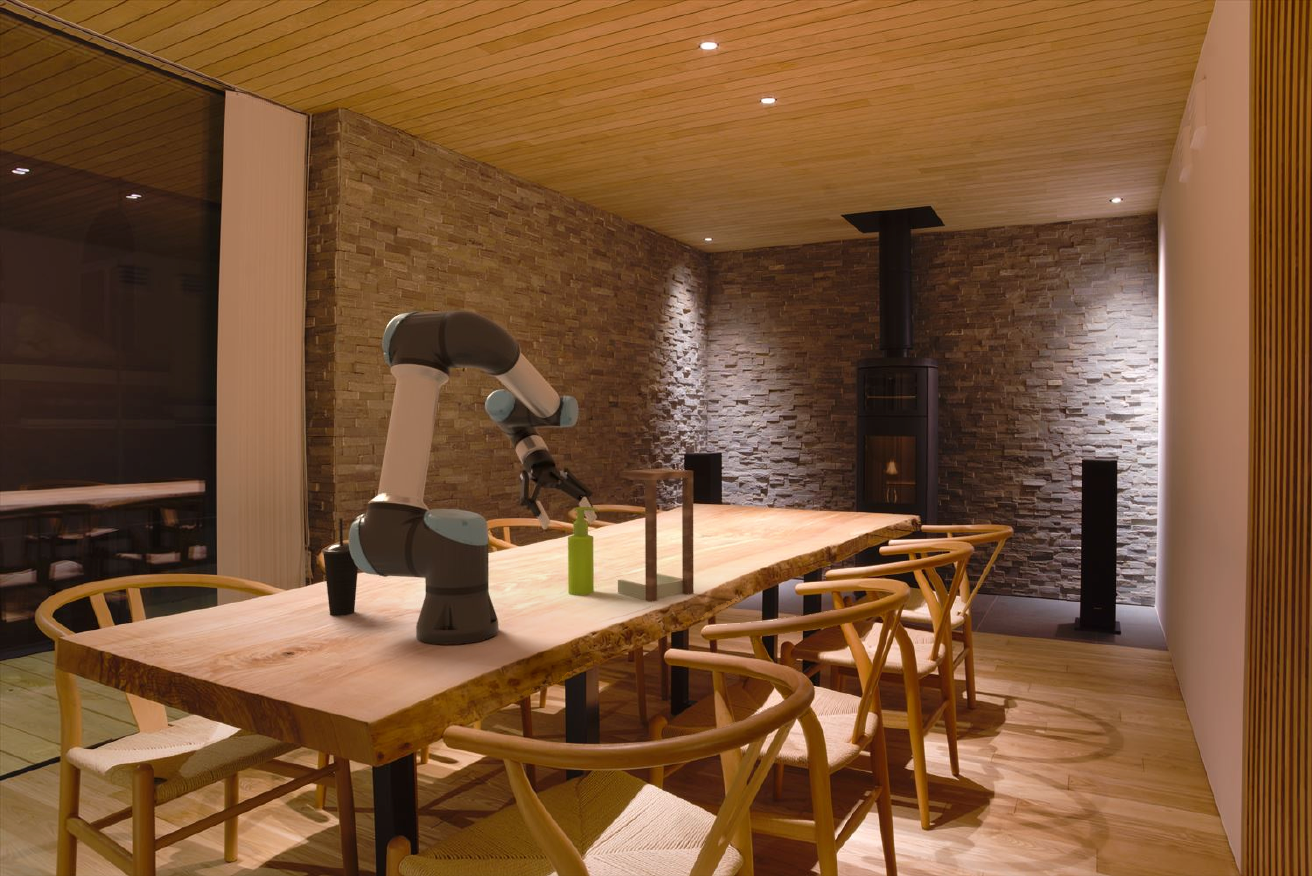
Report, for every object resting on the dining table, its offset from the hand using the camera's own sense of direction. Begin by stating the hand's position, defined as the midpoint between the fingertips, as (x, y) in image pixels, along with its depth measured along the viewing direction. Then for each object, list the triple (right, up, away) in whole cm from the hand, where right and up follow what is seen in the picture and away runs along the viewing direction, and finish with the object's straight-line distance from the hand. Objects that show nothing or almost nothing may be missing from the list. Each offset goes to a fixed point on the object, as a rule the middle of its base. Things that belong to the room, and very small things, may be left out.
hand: (570, 523), depth 202 cm
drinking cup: (-46, -17, -25) cm, 54 cm away
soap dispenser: (+3, -16, -5) cm, 17 cm away
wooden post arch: (+21, -16, -7) cm, 27 cm away
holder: (+19, -16, -5) cm, 25 cm away
